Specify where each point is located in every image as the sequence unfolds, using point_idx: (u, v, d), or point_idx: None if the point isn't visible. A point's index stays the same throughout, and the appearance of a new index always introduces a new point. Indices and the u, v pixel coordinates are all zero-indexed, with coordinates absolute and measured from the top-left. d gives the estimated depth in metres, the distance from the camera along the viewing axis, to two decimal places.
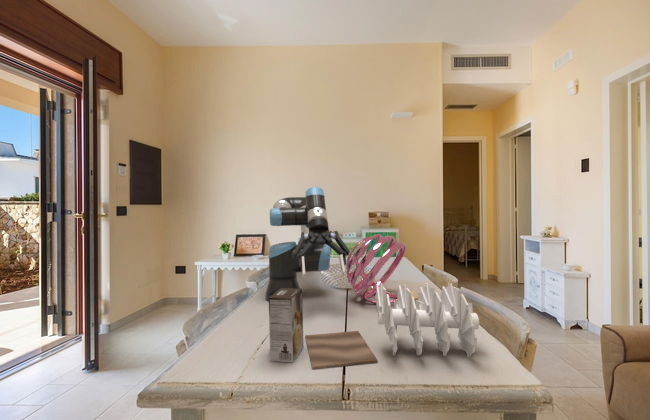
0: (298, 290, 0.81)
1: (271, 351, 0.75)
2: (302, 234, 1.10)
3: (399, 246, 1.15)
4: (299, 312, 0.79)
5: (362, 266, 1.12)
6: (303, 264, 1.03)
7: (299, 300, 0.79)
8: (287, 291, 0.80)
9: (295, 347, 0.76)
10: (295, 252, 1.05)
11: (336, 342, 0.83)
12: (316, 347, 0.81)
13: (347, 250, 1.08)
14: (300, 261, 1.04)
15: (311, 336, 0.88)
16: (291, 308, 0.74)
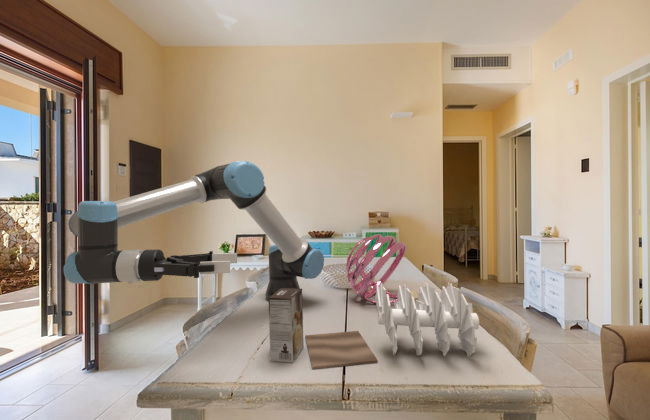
0: (298, 290, 0.81)
1: (271, 351, 0.75)
2: None
3: (399, 246, 1.15)
4: (299, 312, 0.79)
5: (362, 266, 1.12)
6: None
7: (299, 300, 0.79)
8: (287, 291, 0.80)
9: (295, 347, 0.76)
10: None
11: (336, 342, 0.83)
12: (316, 347, 0.81)
13: None
14: None
15: (311, 336, 0.88)
16: (291, 308, 0.74)
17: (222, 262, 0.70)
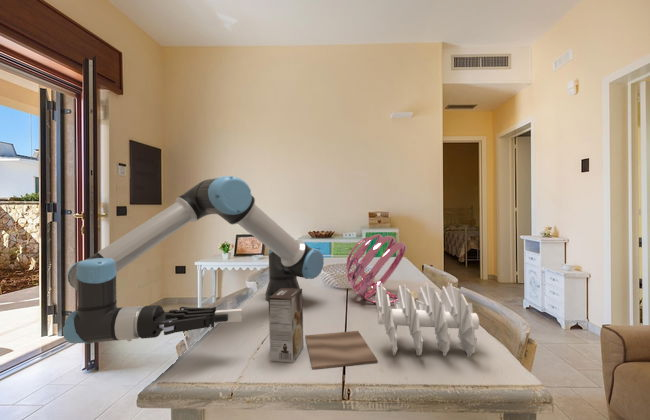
0: (298, 290, 0.81)
1: (271, 351, 0.75)
2: None
3: (399, 246, 1.15)
4: (299, 312, 0.79)
5: (362, 266, 1.12)
6: None
7: (299, 300, 0.79)
8: (287, 291, 0.80)
9: (295, 347, 0.76)
10: None
11: (336, 342, 0.83)
12: (316, 347, 0.81)
13: None
14: None
15: (311, 336, 0.88)
16: (291, 308, 0.74)
17: (235, 311, 0.76)
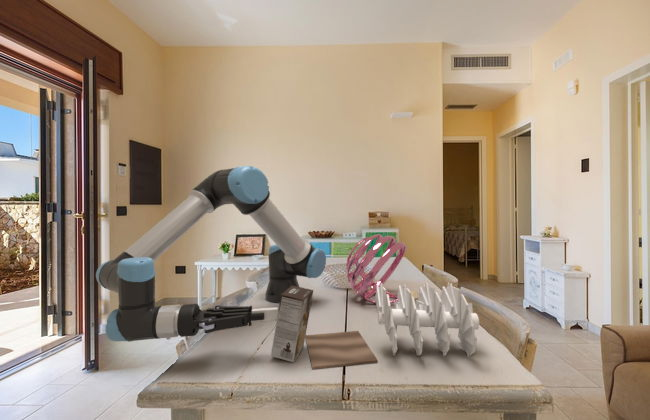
0: (310, 291, 0.80)
1: (273, 347, 0.75)
2: None
3: (399, 246, 1.15)
4: (307, 313, 0.79)
5: (362, 266, 1.12)
6: None
7: (309, 301, 0.79)
8: (299, 290, 0.79)
9: (298, 347, 0.76)
10: None
11: (336, 342, 0.83)
12: (316, 347, 0.81)
13: None
14: None
15: (311, 336, 0.88)
16: (302, 309, 0.73)
17: (271, 310, 0.77)
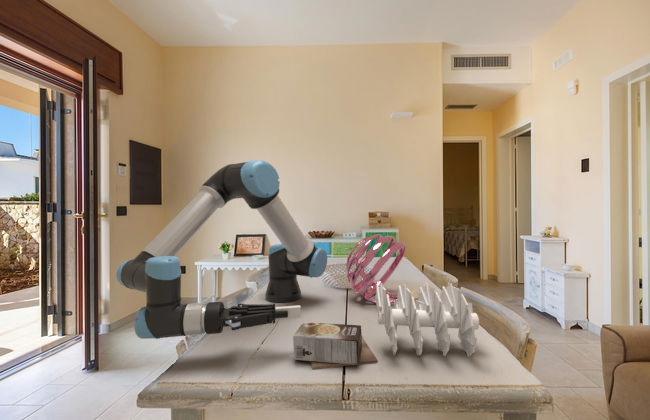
0: (361, 349, 0.78)
1: (302, 338, 0.73)
2: None
3: (399, 246, 1.15)
4: None
5: (362, 266, 1.12)
6: None
7: None
8: (360, 342, 0.76)
9: None
10: None
11: None
12: None
13: None
14: None
15: None
16: (348, 363, 0.71)
17: (294, 308, 0.78)
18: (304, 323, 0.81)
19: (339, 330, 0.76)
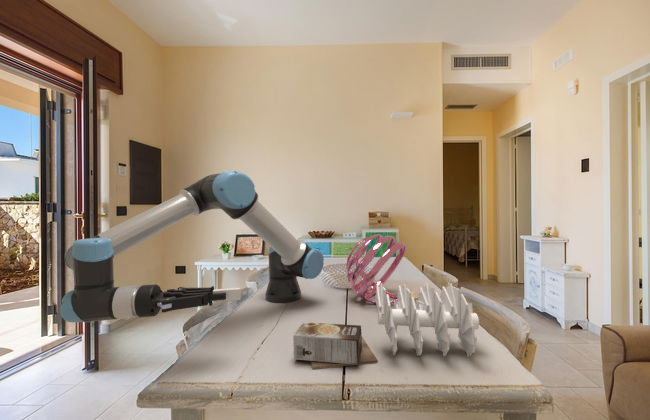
0: (361, 349, 0.78)
1: (302, 337, 0.73)
2: None
3: (399, 246, 1.15)
4: None
5: (362, 266, 1.12)
6: None
7: None
8: (360, 342, 0.76)
9: None
10: None
11: None
12: None
13: None
14: None
15: None
16: (348, 363, 0.71)
17: (233, 290, 0.76)
18: (304, 323, 0.81)
19: (339, 330, 0.76)
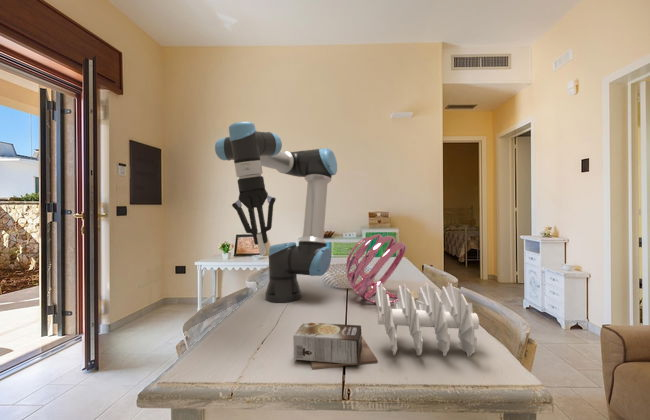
0: (361, 349, 0.78)
1: (302, 337, 0.73)
2: (235, 206, 0.88)
3: (399, 246, 1.15)
4: None
5: (362, 266, 1.12)
6: (259, 244, 0.90)
7: None
8: (360, 342, 0.76)
9: None
10: (247, 229, 0.89)
11: None
12: None
13: (268, 227, 0.90)
14: (255, 239, 0.90)
15: None
16: (348, 363, 0.71)
17: None
18: (304, 323, 0.81)
19: (339, 330, 0.76)
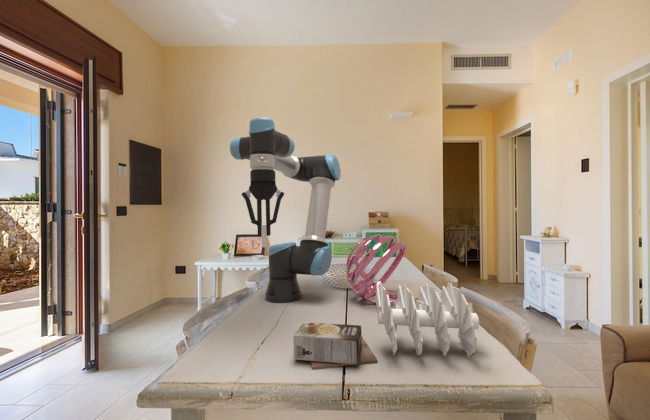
0: (361, 349, 0.78)
1: (302, 337, 0.73)
2: (244, 195, 0.90)
3: (399, 246, 1.15)
4: None
5: (362, 266, 1.12)
6: (262, 236, 0.91)
7: None
8: (360, 342, 0.76)
9: None
10: (253, 220, 0.91)
11: None
12: None
13: (273, 220, 0.92)
14: (259, 231, 0.92)
15: None
16: (348, 363, 0.71)
17: None
18: (304, 323, 0.81)
19: (339, 330, 0.76)
